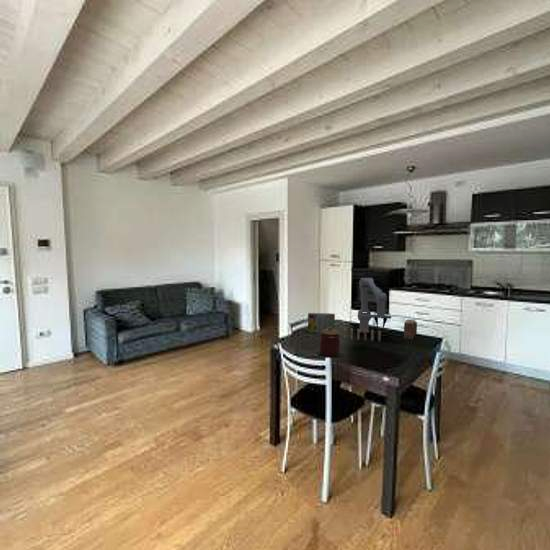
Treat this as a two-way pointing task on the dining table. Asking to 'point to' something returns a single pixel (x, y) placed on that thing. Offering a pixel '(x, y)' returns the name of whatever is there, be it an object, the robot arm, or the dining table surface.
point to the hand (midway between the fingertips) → (380, 327)
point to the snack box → (320, 321)
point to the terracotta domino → (365, 334)
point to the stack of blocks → (410, 329)
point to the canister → (330, 342)
